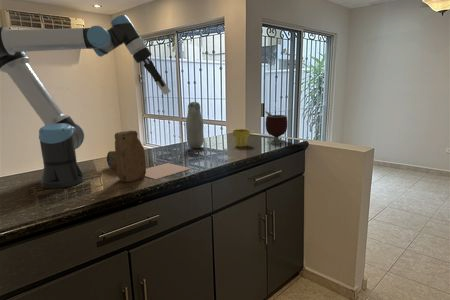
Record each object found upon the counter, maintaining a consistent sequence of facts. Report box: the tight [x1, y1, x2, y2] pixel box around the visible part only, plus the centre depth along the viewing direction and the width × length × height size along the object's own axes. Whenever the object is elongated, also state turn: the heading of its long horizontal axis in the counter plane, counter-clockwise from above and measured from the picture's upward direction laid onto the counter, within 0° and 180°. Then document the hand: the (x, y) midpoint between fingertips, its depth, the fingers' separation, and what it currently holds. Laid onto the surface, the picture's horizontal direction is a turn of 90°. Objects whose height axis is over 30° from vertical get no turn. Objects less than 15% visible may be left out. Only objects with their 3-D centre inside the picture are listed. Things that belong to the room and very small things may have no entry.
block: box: [114, 130, 147, 183], centre depth 123 cm, size 11×8×20 cm
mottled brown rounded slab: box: [106, 150, 117, 171], centre depth 141 cm, size 15×3×8 cm, turn 49°
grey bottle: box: [185, 101, 205, 149], centre depth 183 cm, size 10×10×28 cm
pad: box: [144, 162, 192, 181], centre depth 136 cm, size 20×17×1 cm
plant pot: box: [232, 128, 250, 148], centre depth 188 cm, size 10×10×10 cm
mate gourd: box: [264, 110, 288, 145], centre depth 196 cm, size 16×14×20 cm
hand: (167, 93), depth 137 cm, fingers open, 13 cm apart
